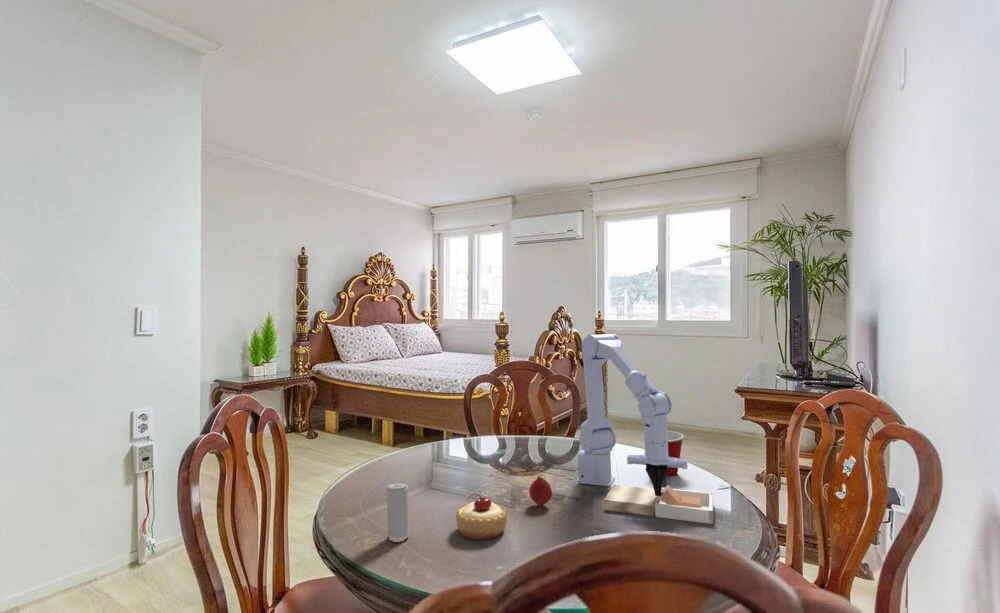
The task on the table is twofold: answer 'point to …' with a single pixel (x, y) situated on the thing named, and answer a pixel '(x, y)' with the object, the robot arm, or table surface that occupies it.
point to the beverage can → (398, 509)
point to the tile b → (691, 502)
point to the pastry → (481, 519)
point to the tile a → (670, 496)
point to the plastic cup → (674, 449)
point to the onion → (540, 491)
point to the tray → (688, 508)
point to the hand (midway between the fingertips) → (658, 494)
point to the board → (631, 500)
